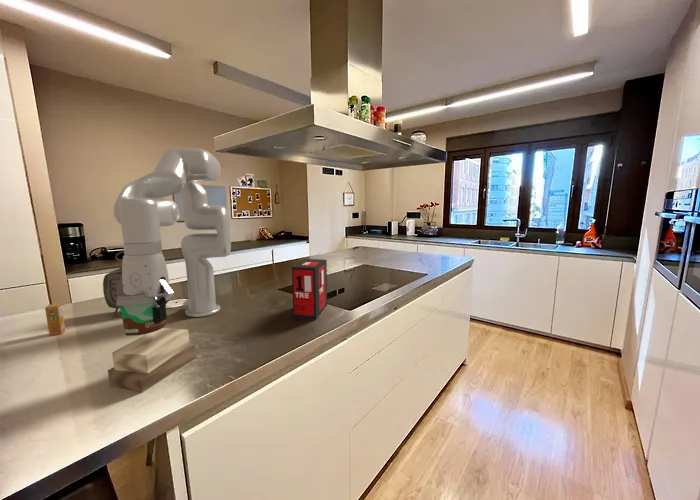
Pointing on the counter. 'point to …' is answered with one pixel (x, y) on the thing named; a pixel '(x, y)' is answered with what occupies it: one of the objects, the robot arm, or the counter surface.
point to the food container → (138, 314)
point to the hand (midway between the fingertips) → (151, 319)
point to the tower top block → (150, 350)
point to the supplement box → (55, 319)
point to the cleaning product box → (309, 288)
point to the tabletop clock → (113, 287)
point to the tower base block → (147, 380)
